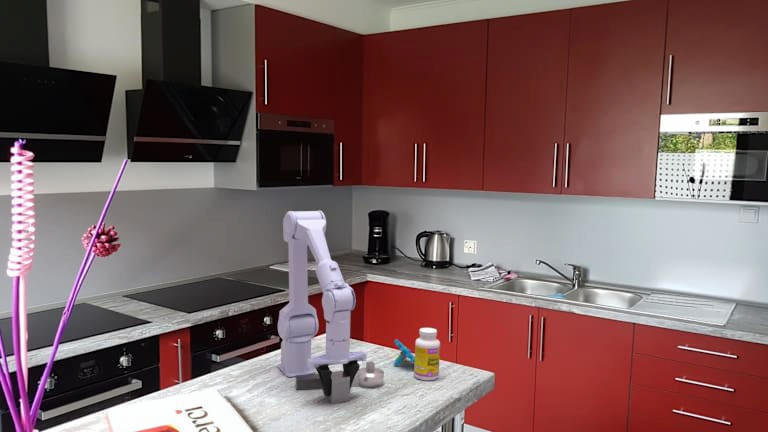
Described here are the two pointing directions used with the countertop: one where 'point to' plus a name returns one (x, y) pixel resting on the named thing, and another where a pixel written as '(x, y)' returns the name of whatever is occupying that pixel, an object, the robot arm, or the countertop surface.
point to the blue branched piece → (403, 353)
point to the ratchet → (363, 378)
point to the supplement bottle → (427, 355)
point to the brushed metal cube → (339, 388)
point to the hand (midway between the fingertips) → (336, 393)
